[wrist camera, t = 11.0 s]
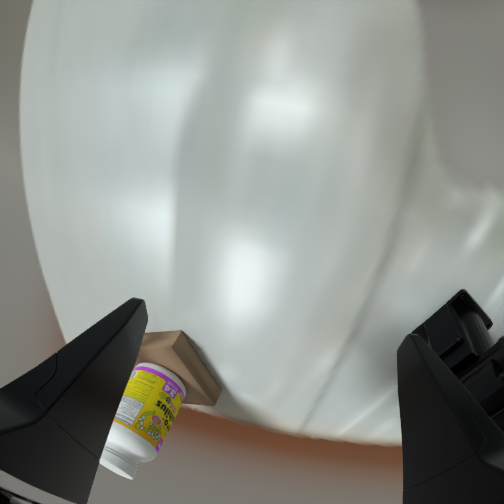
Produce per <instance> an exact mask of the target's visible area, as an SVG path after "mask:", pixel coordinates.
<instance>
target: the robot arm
mask: <svg viewBox="0 0 504 504" xmlns="http://www.w3.org/2000/svg"><path fill="white" fill-rule="evenodd" d="M462 295H463V296H462ZM461 296H462V297H461ZM147 322H148V314H147V309H146V304H145V301H144V300H143V299H139V298H131V299H129V300H128V301H127V302H125V303H124V304H122V305H121V306H119V307H118V308H117V309H115V310H114V311H112V312H111V313H110V314H108V315H107V316H105V317H104V318H103V319H101V320H100V321H98V322H97V323H96V324H94V325H93V326H91V327H90V328H89V329H87V330H86V331H84V332H83V333H82V334H80V335H79V336H78V337H76V338H75V339H73V340H72V341H71V342H69V343H68V344H67V345H65V346H64V347H63V348H61V349H60V350H59V351H58V352H57V353H55V354H53V355H52V356H51V357H49V358H48V359H46V360H45V361H43V362H42V363H41V364H39V365H38V366H36V367H35V368H33V369H31V370H30V371H28V372H27V373H25V374H24V375H22V376H20V377H19V378H17V379H15V380H14V381H12V382H10V383H9V384H7V385H6V386H4V387H2V388H0V504H61V503H62V500H63V499H65V500H68V501H71V502H73V503H76V504H87V501H88V498H89V494H90V491H91V488H92V484H93V481H94V478H95V474H96V471H97V468H98V465H99V462H100V460H99V459H100V458H101V455H102V452H103V449H104V446H105V444H106V441H107V438H108V435H109V432H110V429H111V426H112V424H113V421H114V418H115V415H116V413H117V410H118V407H119V404H120V402H121V399H122V397H123V394H124V391H125V389H126V386H127V384H128V381H129V379H130V376H131V373H132V371H133V368H134V366H135V363H136V361H137V357H138V354H139V350H140V347H141V343H142V340H143V336H144V333H145V329H146V326H147ZM492 325H493V323H492V321H491V319H490V318H489V317H488V315H487V314H486V313H485V312H484V311H483V309H482V308H481V307H480V306H479V305H478V304H477V302H476V301H475V300H474V299H473V298H472V297H471V295H470V294H469V293H468V292H467V291H466V290H465V289H462V290H460V291H459V292H458V293H457V294H456V295H454V296H453V297H452V298H451V299H450V300H449V301H448V302H447V303H446V304H445V305H443V306H442V307H441V308H440V309H439V310H438V311H437V312H436V313H434V314H433V315H432V316H431V317H430V318H429V319H427V320H426V321H425V322H424V323H423V324H421V325H420V326H419V327H418V328H416V329H415V330H414V331H413V332H412V333H411V334H408V335H407V336H406V337H405V339H404V340H403V342H402V343H401V345H400V346H399V348H398V350H397V373H398V398H399V407H400V418H401V432H402V449H403V490H404V491H403V504H504V336H502V337H501V338H500V339H499V340H498V342H497V343H496V344H495V345H494V344H493V342H492V339H491V337H490V335H489V333H488V331H487V330H489V329H490V328H491V327H492Z"/></svg>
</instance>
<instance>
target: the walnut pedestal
mask: <svg viewBox="0 0 504 504" xmlns="http://www.w3.org/2000/svg"><path fill="white" fill-rule="evenodd" d="M144 362H147V363H154V364H157V365H160V366H162V367H164V368H166V369H168V370H170V371H171V372H172V373H174V374H175V375H176V376H177V377H178V378H179V379H180V380H181V381H182V383H183V384H184V386H185V389H186V395H185V398H184V400H183V402H182V403H184V404H196V405H212V406H215V404H216V402H217V399H218V397H219V394H220V392H221V388H220V387H219V386H218V384H217V383H216V381H215V380H214V378H213V377H212V376H211V374H210V373H209V371H208V370H207V368H206V367H205V365H204V364H203V362H202V361H201V359H200V358H199V356H198V355H197V353H196V352H195V350H194V349H193V347H192V346H191V344H190V343H189V341H188V340H187V338H186V336H185V335H184V333H183V332H182V330H180V331H167V332H153V333H144V336H143V340H142V343H141V347H140V350H139V354H138V357H137V361H136V363H135V366H134V368H135V367H136V366H137V365H138V364H140V363H144ZM134 368H133V370H134Z"/></svg>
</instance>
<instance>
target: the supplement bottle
mask: <svg viewBox="0 0 504 504" xmlns="http://www.w3.org/2000/svg"><path fill="white" fill-rule="evenodd" d="M185 395H186V389H185V386H184V384H183V383H182V381H181V380H180V379H179V378H178V377H177V376H176V375H175V374H174V373H172V372H171V371H170V370H168V369H166V368H164V367H162V366H160V365H157V364H154V363H147V362H144V363H140V364H138V365H137V366H136V367H135V368H134V370H133V371H132V373H131V376H130V379H129V381H128V384H127V386H126V389H125V391H124V394H123V397H122V399H121V402H120V404H119V407H118V410H117V413H116V415H115V418H114V421H113V424H112V426H111V429H110V432H109V435H108V438H107V441H106V444H105V446H104V449H103V452H102V455H101V458H100V459H99V460H100V462H99V463H100V464H102V465H103V466H105V467H106V468H108V469H110V470H112V471H113V472H115V473H117V474H119V475H121V476H123V477H126V478H128V479H134V477H135V475H136V473H137V469H138V467H137V466H138V464H139V463H140V462H149V461H152V460H153V459H154V458H155V457H156V455H157V453H158V451H159V449H160V447H161V445H162V442H163V441H164V439H165V437H166V435H167V433H168V431H169V429H170V427H171V425H172V422H173V421H174V419H175V416H176V414H177V412H178V410H179V408H180V406H181V404H182V402H183V400H184V398H185Z"/></svg>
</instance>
